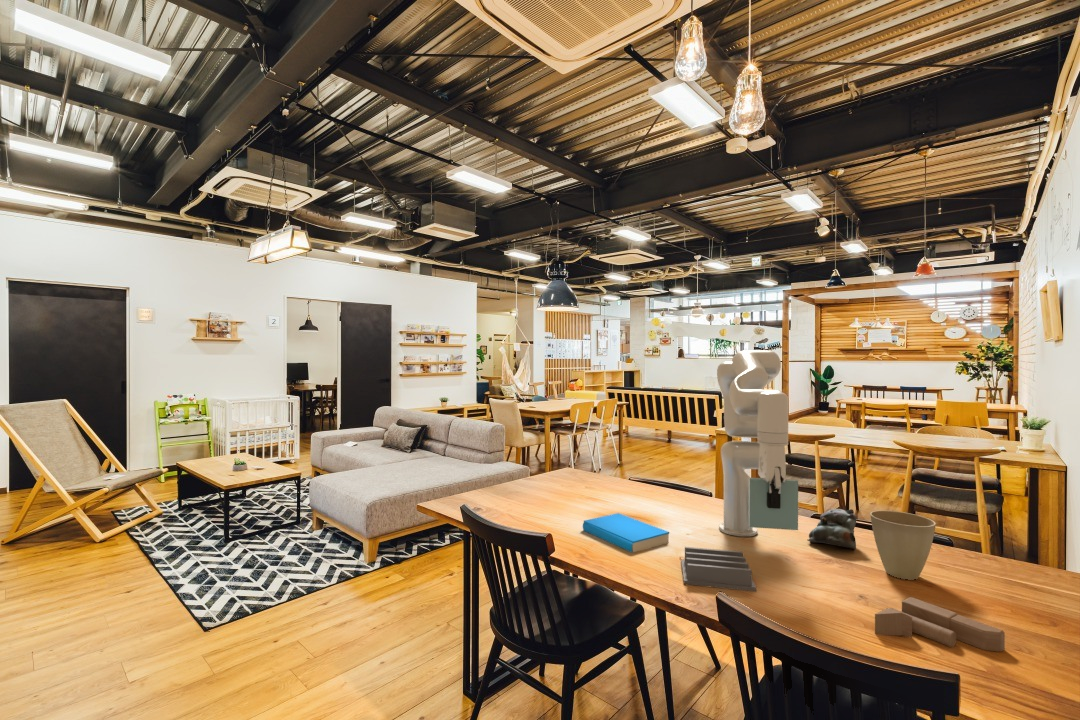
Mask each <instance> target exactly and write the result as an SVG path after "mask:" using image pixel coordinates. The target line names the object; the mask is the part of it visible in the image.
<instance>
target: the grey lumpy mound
mask: <svg viewBox="0 0 1080 720" xmlns="http://www.w3.org/2000/svg"><path fill="white" fill-rule="evenodd" d="M857 518H858V517H857V515H856V514H855V513H854V509H853V508H852V509H847V510H845V509H841V508H830V509H829V510H828V511H825V512H823V513H821V514H820V518H819V522H818V523H817V525H816V527H814V528H813V529H812V530H810V532H809V534H808V539H807V540H806V541H808V542H809V543H810V544H812V543H819V544H827V545H833V546H838V547H842V548H846V549H849V550H851V551H855V550H856V549H857V542H856V536H855V528H856V523H857Z"/></svg>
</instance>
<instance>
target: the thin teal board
mask: <svg viewBox="0 0 1080 720" xmlns="http://www.w3.org/2000/svg"><path fill="white" fill-rule="evenodd" d="M772 481H774V480H772ZM772 485H774V484H772ZM767 492H768V483H766V482H765V481H764V480H763V479H762V478H761V477H750V478H749V527H755V528H756V529H758V528H759V529H775V530H789V531H790V530H791V531H799V480H797V479H792V478H791V479H790V478H789V479H787V478H786V479H785V482H784V483H781V493H780V509H776V508H768V507H767ZM768 493H769V492H768Z"/></svg>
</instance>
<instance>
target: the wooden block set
mask: <svg viewBox="0 0 1080 720" xmlns="http://www.w3.org/2000/svg"><path fill="white" fill-rule="evenodd" d="M913 633H914V634H917V635H918V636H921V637H924V638H927V639H929V640H932V641H934V642H937V643H940V644H942V645H945V646H947V647H950V648H954V647H955V645H956V643H957V641H960V642H961V643H962V642H963V643H964V644H968V645H969V646H971V647H975V648H977V649H980V650H982V651H987V650H988V652H989V651H990V652H995V651H996V652H995V653H1001V652H1003V651H1004V650H1005V649H1006V647H1005V646H1006V643H1005V642H1006V640H1005V639H1006V638H1005V636H1006V634H1005V632H1004V630H1002V629H1000V628H997V627H994V626H992V625H988V624H986V623H984V622H980V621H977V620H976V619H973V618H969V617H966V616H962V615H960V614H958V613H957V612H955V611H951V610H950V609H947V608H945V607H944V608H943V607H940V606H938V605H936V604H932V603H929V602H926V601H923V600H921V599H917V598H915V597H912V596H910V597H908V598H906V599H904V600H902V601H901V611H900V610H898V609H896V608H893V607H890V608H888V607H887V608H884V609H882V610H881V611H879V612H877V613H875V614H874V635H878V636H880V635H881V636H887V635H889V636H888V637H899V636H900V637H902V638H912V637H913ZM956 639H957V640H956Z"/></svg>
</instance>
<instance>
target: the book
mask: <svg viewBox="0 0 1080 720" xmlns="http://www.w3.org/2000/svg"><path fill="white" fill-rule="evenodd" d="M582 530H583V531H584V532H587V533H589V534H590V535H593V536H595V537H597V538H599V539H602V540H604V541H606V542H608V543H611V544H612V545H615V546H617V547H619V548H622V549H623V550H626V551H627V552H630V553H632V554H633V553H636V552H641V551H645V550H647V549H651V548H654V547H658V546H661V545H665V544H668V543H669V542H670V541H669V534H670V531H668V530H665V529H662V528H659V527H657V526H655V525H651V524H649V523H646V522H645V521H644V522H643V521H641V520H638V519H635V518H633V517H630V516H628V515H625V514H622V513H619V512H616V513H613V514H608V515H604V516H598V517H594V518H590V519H585V520H583V523H582Z"/></svg>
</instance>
